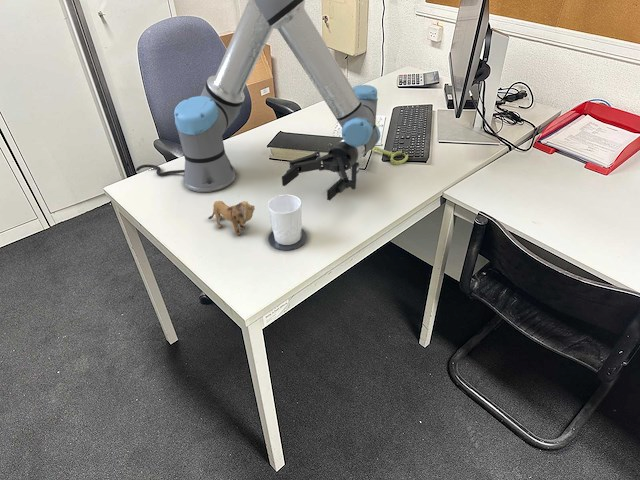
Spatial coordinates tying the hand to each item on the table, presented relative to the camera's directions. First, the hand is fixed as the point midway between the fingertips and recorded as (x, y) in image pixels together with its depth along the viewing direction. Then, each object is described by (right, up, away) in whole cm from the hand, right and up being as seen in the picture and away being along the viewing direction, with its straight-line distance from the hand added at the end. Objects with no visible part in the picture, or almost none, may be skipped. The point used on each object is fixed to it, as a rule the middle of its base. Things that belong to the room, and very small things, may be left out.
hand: (305, 188), depth 107 cm
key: (+26, +14, +30) cm, 42 cm away
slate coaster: (-4, -13, -1) cm, 13 cm away
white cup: (-4, -12, -1) cm, 13 cm away
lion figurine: (-19, -10, +4) cm, 21 cm away
